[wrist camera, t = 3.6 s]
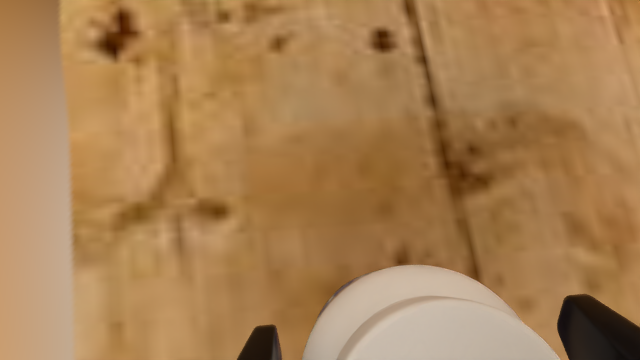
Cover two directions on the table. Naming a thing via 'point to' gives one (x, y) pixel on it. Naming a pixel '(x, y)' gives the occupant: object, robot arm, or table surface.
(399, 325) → the pill bottle
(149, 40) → the table surface
